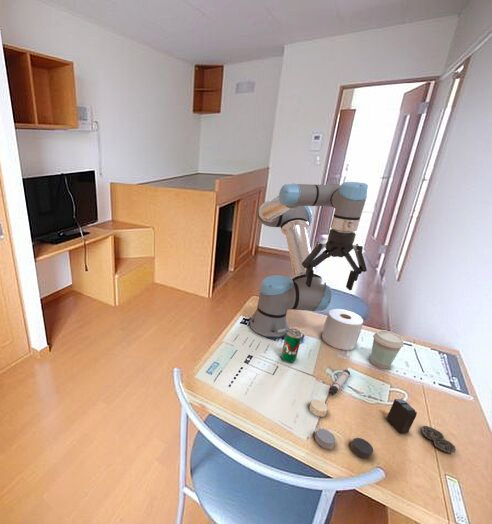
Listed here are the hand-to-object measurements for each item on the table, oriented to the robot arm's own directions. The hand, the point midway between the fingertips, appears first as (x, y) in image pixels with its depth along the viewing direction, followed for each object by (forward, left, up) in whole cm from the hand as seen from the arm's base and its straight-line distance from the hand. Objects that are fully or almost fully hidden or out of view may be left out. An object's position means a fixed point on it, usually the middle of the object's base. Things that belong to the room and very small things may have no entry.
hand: (328, 287), depth 109 cm
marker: (+15, -13, -27) cm, 33 cm away
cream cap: (+16, -29, -27) cm, 42 cm away
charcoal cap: (+29, -33, -27) cm, 51 cm away
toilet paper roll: (+4, +13, -27) cm, 30 cm away
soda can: (-2, -14, -27) cm, 30 cm away
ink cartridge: (+32, -16, -27) cm, 45 cm away
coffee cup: (+19, +11, -27) cm, 35 cm away
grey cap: (+22, -38, -27) cm, 51 cm away
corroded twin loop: (+40, -13, -27) cm, 50 cm away
